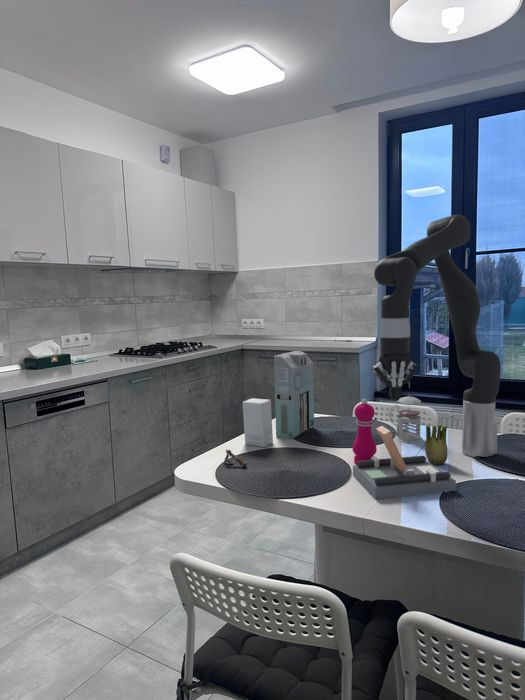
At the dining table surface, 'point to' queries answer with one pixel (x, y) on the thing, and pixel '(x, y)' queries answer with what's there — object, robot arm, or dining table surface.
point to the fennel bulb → (436, 444)
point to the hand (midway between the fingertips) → (394, 399)
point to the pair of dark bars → (405, 478)
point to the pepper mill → (364, 433)
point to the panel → (369, 475)
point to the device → (293, 393)
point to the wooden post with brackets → (234, 458)
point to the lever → (391, 448)
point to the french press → (404, 433)
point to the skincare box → (257, 422)
